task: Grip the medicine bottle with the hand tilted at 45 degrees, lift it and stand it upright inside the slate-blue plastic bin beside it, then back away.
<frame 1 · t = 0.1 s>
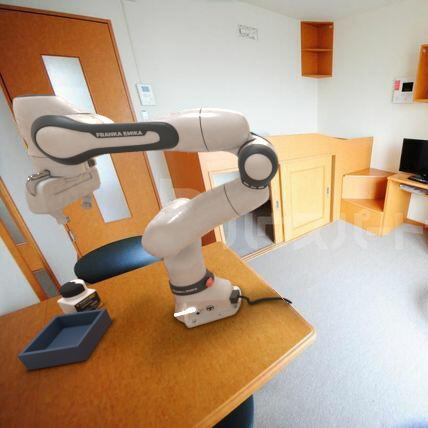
hand: (77, 215, 65), 39 cm above the table, tool pointing down, fingers open, 8 cm apart
medicine bottle: (85, 310, 84), on the table
bin: (74, 343, 73), on the table
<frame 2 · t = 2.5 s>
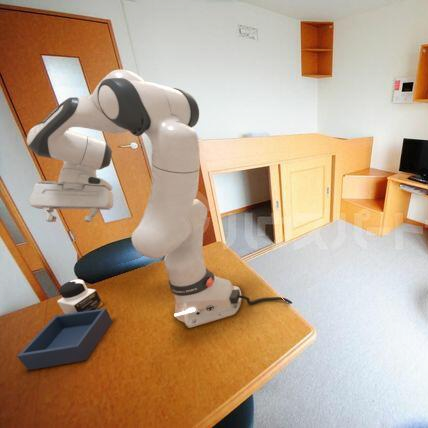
hand: (70, 221, 77), 31 cm above the table, tool tilted 40°, fingers open, 8 cm apart
nothing on the table moved.
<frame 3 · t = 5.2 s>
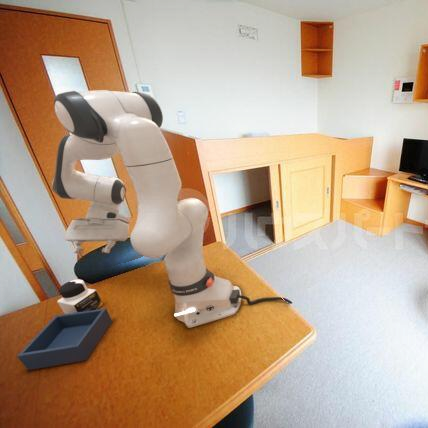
hand: (91, 253, 87), 17 cm above the table, tool tilted 45°, fingers open, 8 cm apart
nothing on the table moved.
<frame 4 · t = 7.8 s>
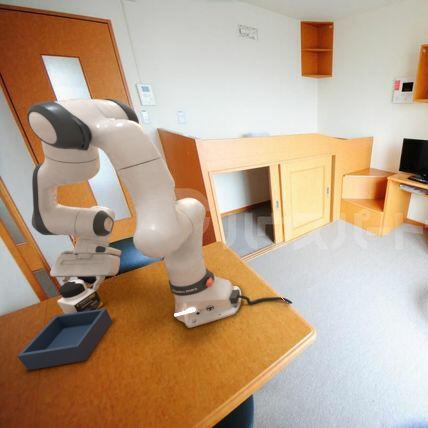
hand: (79, 290, 82), 8 cm above the table, tool tilted 45°, fingers open, 8 cm apart
medicine bottle: (85, 310, 84), on the table, touching gripper
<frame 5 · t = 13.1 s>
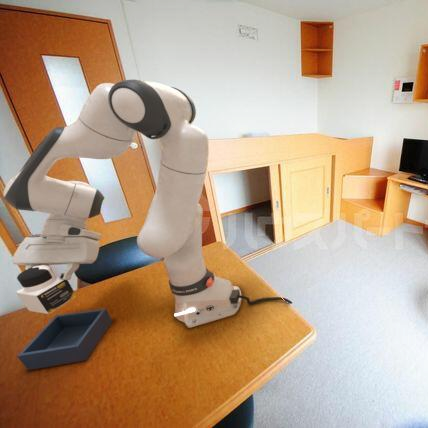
hand: (48, 280, 67), 21 cm above the table, tool tilted 45°, fingers closed on medicine bottle, 7 cm apart
medicine bottle: (54, 303, 69), point 14 cm above the table, touching gripper
when the fingers open (8 cm above the table, at t = 17.8 s): medicine bottle stays where it is, resting on bin.
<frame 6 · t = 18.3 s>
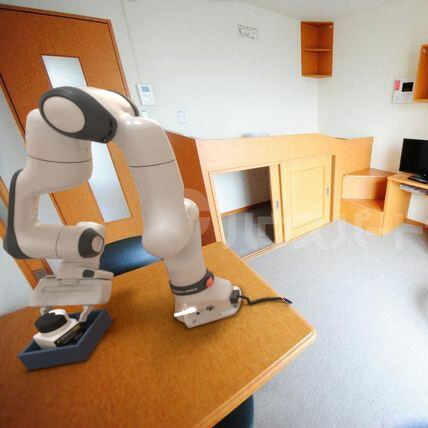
hand: (63, 322, 69), 9 cm above the table, tool tilted 45°, fingers open, 8 cm apart
medicine bottle: (68, 344, 71), point 1 cm above the table, touching bin
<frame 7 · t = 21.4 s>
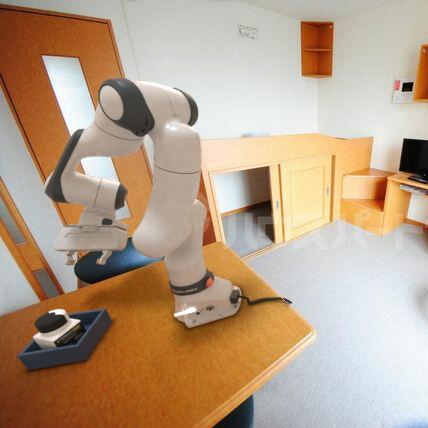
hand: (84, 264, 76), 19 cm above the table, tool tilted 45°, fingers open, 8 cm apart
nothing on the table moved.
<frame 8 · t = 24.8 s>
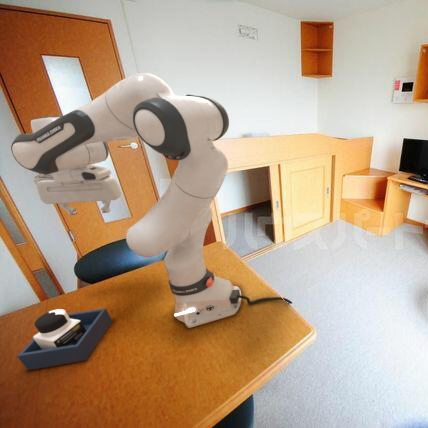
hand: (90, 213, 79), 33 cm above the table, tool pointing down, fingers open, 8 cm apart
nothing on the table moved.
at the end: medicine bottle inside the target area in the bin (1.2 cm from its centre), point 0.8 cm above the bin's base; medicine bottle tilted 0°; the gripper is holding nothing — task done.
